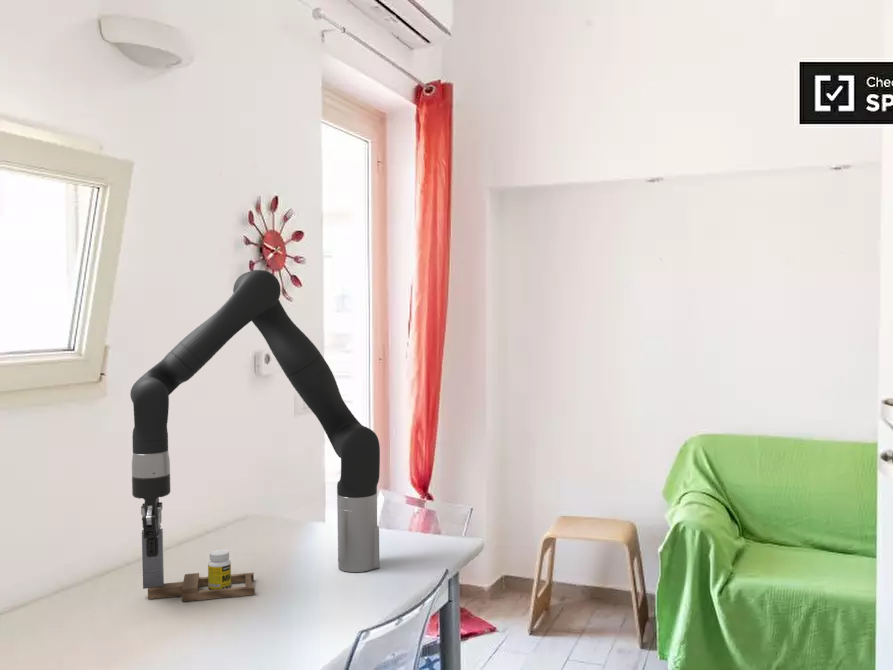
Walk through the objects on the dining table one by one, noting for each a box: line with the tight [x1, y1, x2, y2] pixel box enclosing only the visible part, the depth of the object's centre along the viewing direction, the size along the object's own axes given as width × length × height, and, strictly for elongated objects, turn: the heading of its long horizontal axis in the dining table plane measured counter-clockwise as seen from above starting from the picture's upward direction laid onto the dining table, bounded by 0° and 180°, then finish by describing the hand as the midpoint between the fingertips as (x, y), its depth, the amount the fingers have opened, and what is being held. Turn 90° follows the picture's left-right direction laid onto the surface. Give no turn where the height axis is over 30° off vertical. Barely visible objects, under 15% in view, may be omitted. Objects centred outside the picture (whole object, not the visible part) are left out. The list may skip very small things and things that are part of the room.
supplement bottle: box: [207, 549, 232, 590], centre depth 174 cm, size 5×5×8 cm
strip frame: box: [141, 528, 256, 602], centre depth 173 cm, size 23×10×14 cm, turn 105°
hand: (152, 554), depth 171 cm, fingers closed on strip frame
